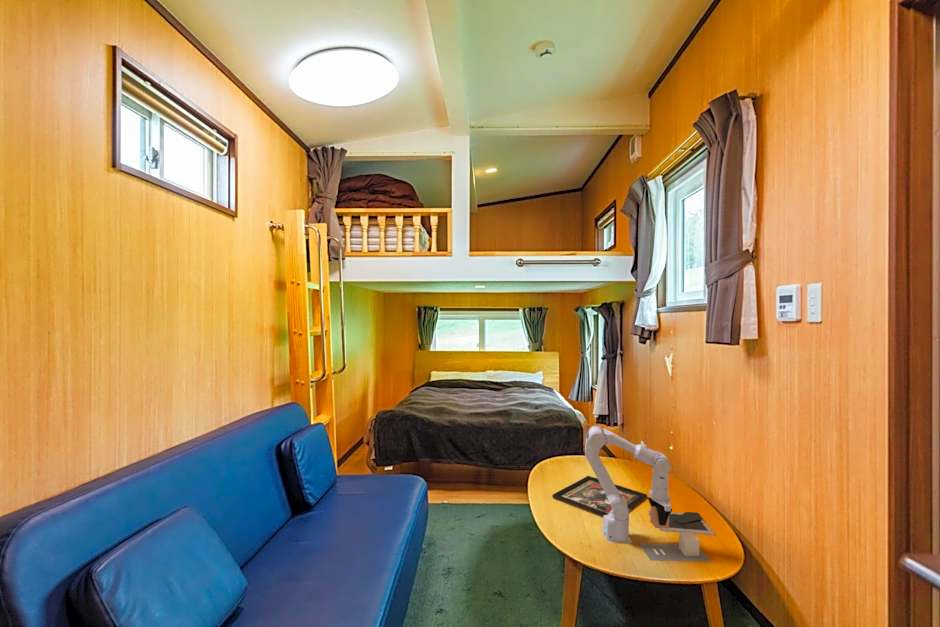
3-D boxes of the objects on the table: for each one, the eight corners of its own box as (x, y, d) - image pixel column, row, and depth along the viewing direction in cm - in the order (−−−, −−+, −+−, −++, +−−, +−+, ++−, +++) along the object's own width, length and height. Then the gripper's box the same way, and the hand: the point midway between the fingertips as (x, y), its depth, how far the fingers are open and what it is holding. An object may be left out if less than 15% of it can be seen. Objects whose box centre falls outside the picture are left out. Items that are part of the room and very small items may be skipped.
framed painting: (624, 526, 179) (625, 519, 179) (548, 502, 200) (548, 496, 200) (649, 496, 209) (649, 490, 209) (580, 478, 230) (581, 473, 230)
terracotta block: (655, 528, 162) (656, 512, 162) (650, 521, 167) (650, 506, 167) (668, 528, 162) (669, 512, 162) (662, 521, 167) (663, 506, 167)
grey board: (650, 562, 153) (650, 560, 153) (638, 544, 164) (638, 543, 164) (711, 563, 153) (712, 561, 153) (695, 545, 164) (695, 544, 164)
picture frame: (697, 519, 187) (648, 515, 190) (698, 512, 187) (648, 508, 190) (714, 538, 172) (660, 533, 174) (714, 531, 172) (660, 527, 174)
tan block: (685, 556, 156) (686, 539, 156) (678, 548, 161) (679, 532, 161) (699, 556, 156) (699, 540, 156) (691, 548, 161) (692, 532, 161)
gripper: (679, 494, 157) (678, 531, 157) (662, 478, 172) (661, 512, 172) (660, 494, 157) (659, 530, 158) (644, 478, 172) (643, 511, 172)
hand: (659, 521), depth 165 cm, fingers closed on terracotta block, 5 cm apart
